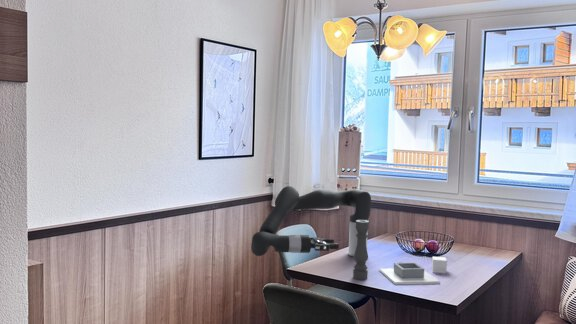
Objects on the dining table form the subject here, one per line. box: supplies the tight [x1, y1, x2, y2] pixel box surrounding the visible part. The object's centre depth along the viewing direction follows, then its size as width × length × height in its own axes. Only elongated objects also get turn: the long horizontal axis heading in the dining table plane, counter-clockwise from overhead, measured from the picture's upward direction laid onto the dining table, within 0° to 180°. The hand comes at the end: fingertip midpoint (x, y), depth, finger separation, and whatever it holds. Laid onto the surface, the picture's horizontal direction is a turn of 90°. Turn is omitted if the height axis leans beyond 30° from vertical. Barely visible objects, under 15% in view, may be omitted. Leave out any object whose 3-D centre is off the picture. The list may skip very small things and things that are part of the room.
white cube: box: [431, 256, 448, 274], centre depth 240 cm, size 6×6×6 cm
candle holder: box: [352, 220, 370, 281], centre depth 225 cm, size 6×6×25 cm
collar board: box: [378, 262, 441, 286], centre depth 229 cm, size 20×20×5 cm
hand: (335, 243), depth 223 cm, fingers open, 8 cm apart
